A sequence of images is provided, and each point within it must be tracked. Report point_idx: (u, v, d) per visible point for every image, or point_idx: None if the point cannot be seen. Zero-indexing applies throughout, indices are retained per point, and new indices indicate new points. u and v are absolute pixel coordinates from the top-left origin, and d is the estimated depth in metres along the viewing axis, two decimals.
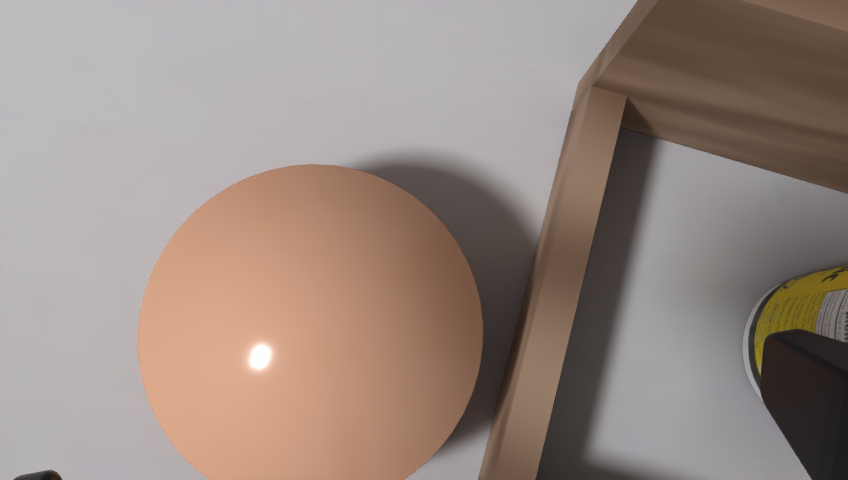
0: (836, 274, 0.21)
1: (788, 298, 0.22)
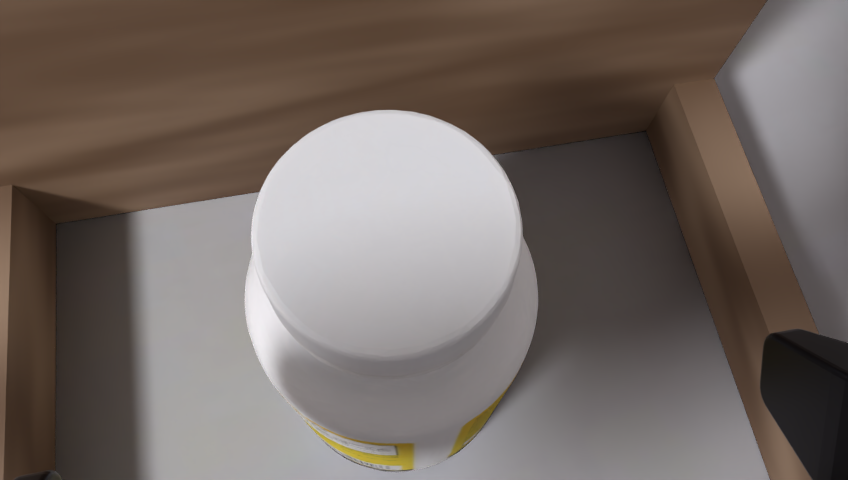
0: None
1: None
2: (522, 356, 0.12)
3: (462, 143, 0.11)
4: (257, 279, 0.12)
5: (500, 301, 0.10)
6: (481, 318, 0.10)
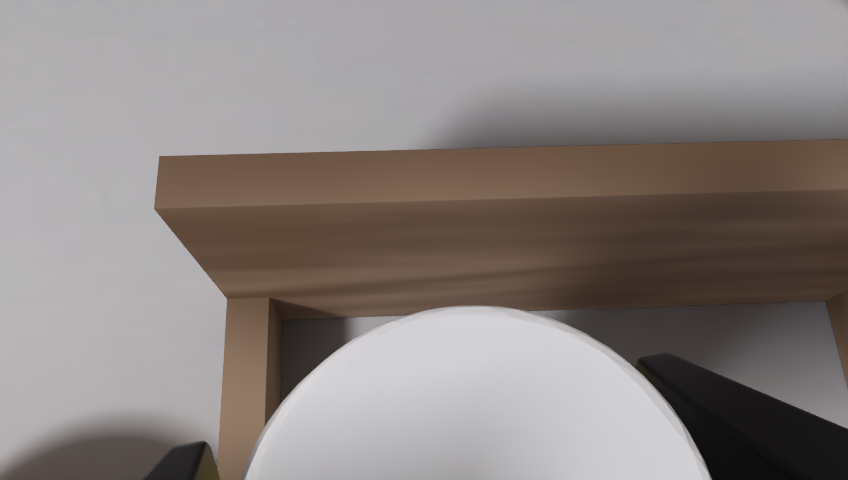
0: None
1: None
2: None
3: (606, 375, 0.06)
4: None
5: None
6: None
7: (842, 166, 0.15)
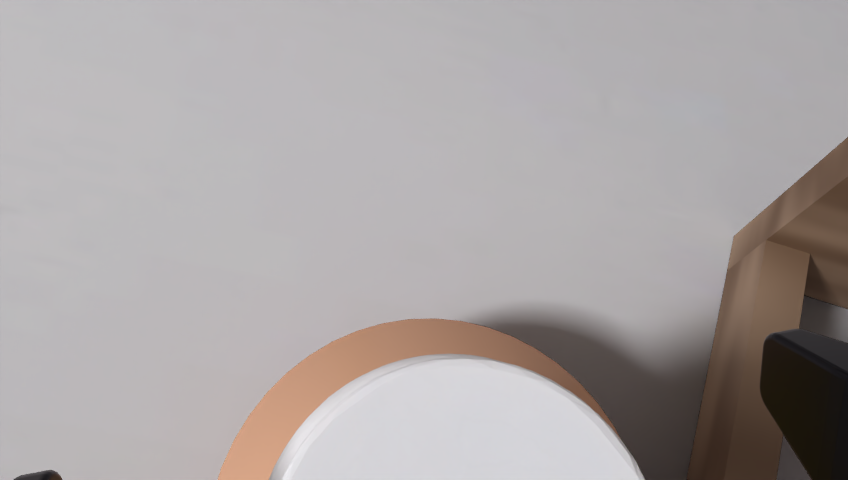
0: None
1: None
2: None
3: (568, 416, 0.07)
4: None
5: None
6: None
7: None
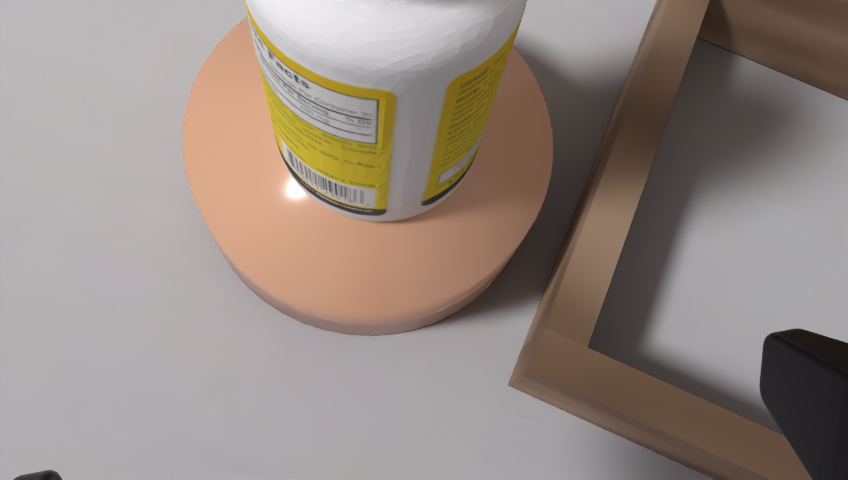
0: None
1: None
2: (513, 13, 0.12)
3: None
4: None
5: None
6: None
7: None
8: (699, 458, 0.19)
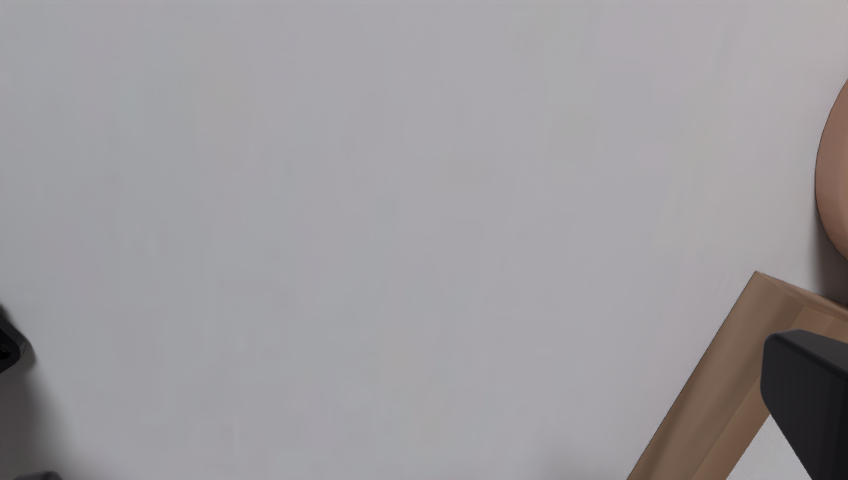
0: None
1: None
2: None
3: None
4: None
5: None
6: None
7: None
8: (699, 422, 0.24)
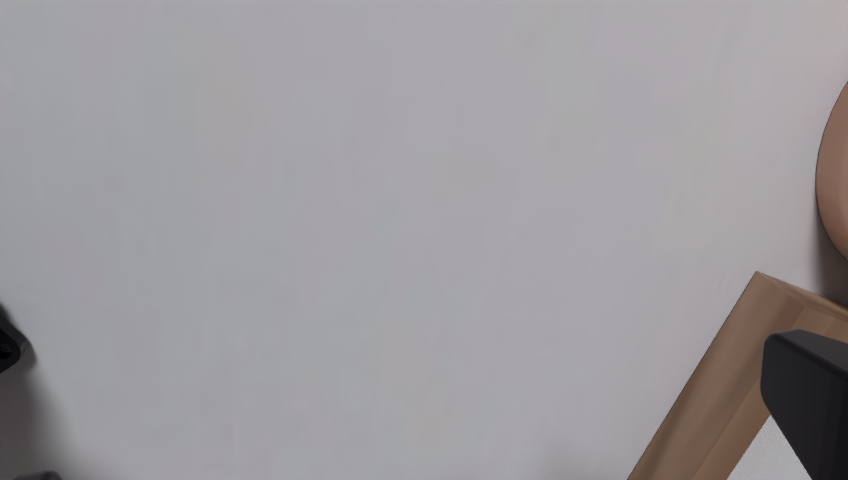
0: None
1: None
2: None
3: None
4: None
5: None
6: None
7: None
8: (699, 422, 0.24)
